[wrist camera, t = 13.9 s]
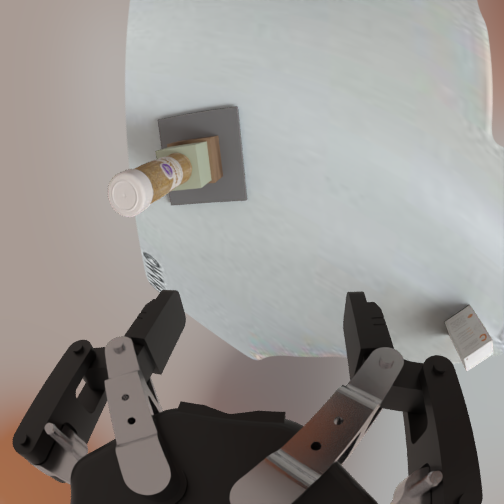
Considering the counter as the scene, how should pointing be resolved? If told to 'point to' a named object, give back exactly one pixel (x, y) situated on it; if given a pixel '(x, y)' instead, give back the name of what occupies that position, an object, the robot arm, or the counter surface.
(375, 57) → the counter surface
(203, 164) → the sage top block
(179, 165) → the sprinkles bottle
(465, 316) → the small box
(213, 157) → the walnut base block
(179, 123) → the slate board
